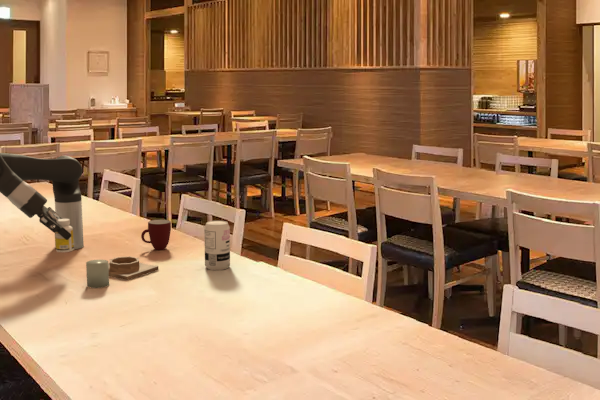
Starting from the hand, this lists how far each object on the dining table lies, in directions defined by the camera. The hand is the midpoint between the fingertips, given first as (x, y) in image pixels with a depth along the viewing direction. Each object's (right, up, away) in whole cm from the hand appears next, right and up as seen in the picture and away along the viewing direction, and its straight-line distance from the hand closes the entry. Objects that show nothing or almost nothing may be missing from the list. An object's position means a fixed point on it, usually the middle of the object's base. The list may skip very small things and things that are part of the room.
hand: (70, 235), depth 219 cm
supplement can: (+44, -11, +13) cm, 48 cm away
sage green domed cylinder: (+11, -15, -8) cm, 20 cm away
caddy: (+15, -12, +7) cm, 21 cm away
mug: (+20, -7, +35) cm, 41 cm away
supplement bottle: (-2, -5, 0) cm, 5 cm away
